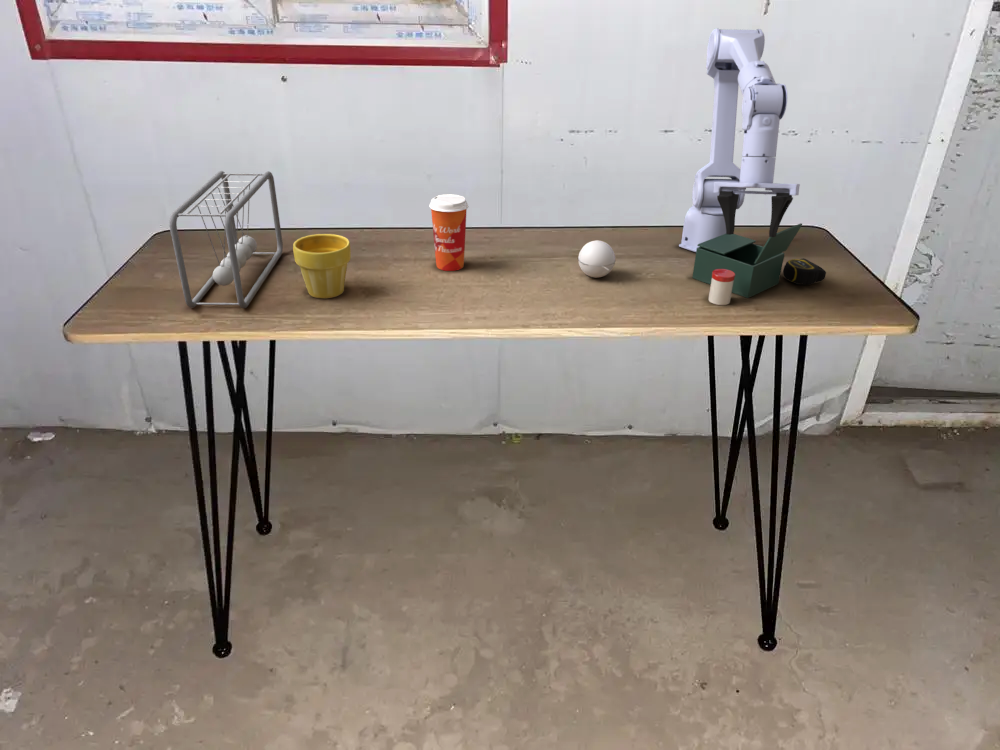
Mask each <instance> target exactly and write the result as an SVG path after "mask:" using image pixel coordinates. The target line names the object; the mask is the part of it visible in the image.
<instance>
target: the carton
mask: <svg viewBox="0 0 1000 750" xmlns="http://www.w3.org/2000/svg"><path fill="white" fill-rule="evenodd" d="M756 242H757V240H755V239H752V238H749V237H746V236H743V235H739V234H736V233H734V234H731V235H728V234H724V235H721V236H718V237H716V238H713V239H710V240H708V241H705V242H702V243H700V244H698V246H700V247H698V248H697V250H696V252H695V258H694V264H693V269H692V277H691V278H692V279H694V280H696V281H699V282H702V283H705V284H708V285H710V286H711V279H712V272H713V271H714V270H716V269H727V270H730V271H733V272H734V273H735V279H734V283H733V289H732V294H735V295H738V296H740V297H744V298H747V299H749V298H752V297H754V296H756V295H758V294H759V293H761V292H764V291H767V290H768V289H770V288H773V287H775V286H776V285H779V282H780V278H781V273H782V270H783V264H784V259H785V252H782V253H779V254H777V255H775V256H772V257H770V258H768V259H766V260H763V261H761V262H759V263H756V264H755V263H754V262H755V260H756V259H757V257H758V255H759V254H760V252H761V250H762V249H763V247H764V245H759V244H756Z"/></svg>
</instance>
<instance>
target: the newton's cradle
mask: <svg viewBox="0 0 1000 750" xmlns="http://www.w3.org/2000/svg"><path fill="white" fill-rule="evenodd" d="M231 176H253V178H251V180H250V181H248V182H247V181H246V180H245V181H238V180H237V181H235V180H234V181H233V180H232V181H231V180H230V181H229V179H228V178H229V177H231ZM260 176H261V177H260ZM258 177H259V179H258V180H257V181H256V182H255V183H254V184H253V182H254V181H255V180H256V179H257V178H258ZM218 181H219V182H218ZM217 182H218V183H217ZM266 182H268V188H269V196H270V203H271V210H272V218H273V224H274V232H275V238H276V247H277V248H276V252H270V251H269V252H267V251H266V252H264V251H261V252H260V251H259V252H258V251H256V250H257V247H258V243H257V241H256V239H255V238H254V237H252V236H250V235H249V226H247V230H246V234H245V233H244V220H242V222H241V223H242V226H241V223H240V219H239V212H240V210H241V209H242V218H244V216H245V215H244V213H245V205H246V204H247V205H248V207H247V223H249V219H250V199H252V197H253V196H254V195H256V193H257V192H258V191H259V190H260V188H261V187H263V185H264V184H265V183H266ZM216 183H217V184H216ZM229 183H247V184H246V185H245V186H235V187H234V186H230V185H229ZM215 184H216V185H215ZM251 184H253V185H252V186H251ZM275 184H276V183H275V178H274V175H273V172H271V171H266V172H264V173H258V172H257V173H255V172H254V173H252V172H248V173H247V172H245V173H243V172H225V171H223V170H219V171H218V172H217V173H216V174H214V175H213V176H212V177H211V178H210V179H208V180H207V182H205V183H204V184H203V185H202V186H200V188H199V189H197V190H196V191H195V192H194V193H193V194H192V195H191V196H189V197H188V198H187V199H186V200H185V201H183V202H182V204H180V205H179V206H178V207H176V209H174V210H173V211H172V213H171V214H170V215H169V220H168V221H169V222H168V223H169V224H168V226H169V232H170V236H171V240H172V246H173V251H174V255H175V259H176V260H175V261H176V264H177V270H178V274H179V279H180V283H181V288H182V293H183V298H184V301H185V304H186V306H187V307H188V308H191V309H193V308H196V306H238V307H240V308H242V309H246V308H248V307H249V305H250V304H251V302H252V300H253V299H254V298H255V296H256V294H257V292H259V290H260V288H261V287H262V285H263V284H264V282H265V281H266V279H267V278H268V276H269V274H270V273H271V271H272V270H273V268H274V267H275V266H276V264H277V263H278V261H279V259H280V258H281V256H282V254H283V249H284V243H283V235H282V228H281V221H280V214H279V206H278V199H277V192H276V185H275ZM214 185H215V186H214ZM221 185H222V186H221ZM213 186H214V187H213ZM221 188H222V189H223V192H221V190H220V189H221ZM230 188H232V189H237V188H238V189H241V190H240V191H239V192H237V193H236V192H231V190H230ZM217 189H218V192H214V191H215V190H217ZM247 189H248V191H246V193H244V192H245V190H247ZM209 190H210V191H209ZM206 192H207V193H206ZM205 193H206V194H205ZM204 194H205V195H204ZM214 194H217V195H218V194H219V196H220V198H221V199H219V198H215V196H214ZM223 194H224V198H223V196H222V195H223ZM242 194H243V195H242ZM203 195H204V196H203ZM210 195H211V196H212V199H211V198H208V197H209V196H210ZM231 195H235V197H233V199H232V196H231ZM241 195H242V197H240V196H241ZM202 196H203V197H202ZM201 197H202V198H201ZM207 198H208V199H207ZM239 198H240V199H239ZM198 200H199V201H198ZM236 200H237V202H236V203H235V204H234V202H235V201H236ZM196 201H198V202H196ZM203 201H204V202H205V204H206V205H202V208H203V207H204V208H205V207H206V208H207V210H208V213H202V211H201V209H200V204H202V202H203ZM208 201H213V202H214V204H215V205H208ZM216 201H222V203H223V205H217V202H216ZM195 202H196V203H195ZM193 204H194V205H193ZM192 205H193V206H192ZM191 206H192V207H191ZM190 207H191V208H190ZM210 207H211V208H214V207H216V210H217V212H218V213H211V210H210ZM219 207H220V208H223V209H222V210H221V211H220V210H219ZM189 208H190V209H189ZM196 208H197V209H198V211H199V213H192V212H193V211H194V210H195V209H196ZM188 209H189V210H188ZM187 210H188V211H187ZM185 211H186V213H185ZM235 216H236V220H235ZM179 217H201V219H202V223H203V224H204V227H205V230H206V233H207V236H208V238H209V241H210V243H211V247H212V250H213V252H214V254H215V255H214V256H215V257H216V260H217V263H218V266H216V267H215V268H214V270H213V272H212V275H211V277H209V279H208V280H207V281H206V282H205V284H204V285H203V286H202V287H201V289H200V290H199V291H198V292H197V293H196V295H195V296H194V297H193V298H192V294H191V290H190V285H189V280H188V275H187V271H186V265H185V260H184V256H183V252H182V246H181V241H180V235H179V231H178V226H177V224H178V223H177V221H178V218H179ZM204 217H210V218H211V221H212V224H213V226H214V229H215V231H216V234H217V237H218V239H219V241H220V244H221V247H222V250H223V259H222V260H221V261H219V258H218V255H217V253H216V249H215V247H214V244H213V241H212V239H211V236H210V233H209V231H208V228H207V225H206V222H205V220H204ZM213 217H219V218H220V220H221V223H222V226H223V228H224V233H223V242H222V240H221V237H220V234H219V232H218V228H217V226H216V224H215V221H214V218H213ZM223 217H224V221H223V219H222V218H223ZM238 225H239V226H238ZM238 227H240V230H241V237H240V238H239V239H238V229H239V228H238ZM226 242H227V247H228V252H226ZM252 255H273V256H272V258H271V259H270V260H269V262H268V264H267V265H266V267H265V268H264V269H263V271H262V273H261V274H260V275H259V277H258V278H257V280H256V281H255V283H254V285H253V286H252V288H251V289H250V290H249V292H248V294H247V295H246V296H244V291H243V285H242V280H241V279H242V278H241V274H240V272H241V269H242V268H244V267H245V265H246V263H247V261H248V260H250V258H251V257H252ZM233 282H234V288H235V295H236V298H237V299H236V301H237V302H201V300H202V299H203V298H204V296H205V295H206V294H207V293H208V291H209V290H210V289H211V288H212V286H213V285H214V284H215V283H216V284H217V285H219V286H222V287H224V286H228V285H231V284H232V283H233Z"/></svg>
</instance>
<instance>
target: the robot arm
mask: <svg viewBox="0 0 1000 750" xmlns="http://www.w3.org/2000/svg"><path fill="white" fill-rule="evenodd" d="M765 39H766V38H765V33H764V31H763V29H761V28H757V29H735V28H734V29H732V28H730V29H725V28H723V29H722V28H719V27H716V28H714V29H713V30H712V31H711V32H710V34H709V38H708V41H707V42H708V43H707V49H706V63H705V68H706V75H708V76H709V77H710V78H712V79H713V88H714V89H713V90H714V91H713V93H714V94H713V105H712V106H713V107H712V121H711V135H710V136H711V137H710V148H709V149H710V152H709V162H708V163H706V164H705V165H704V166H702V167H700V168H699V169H698V170H697V171H696V173H695V175H694V183H693V185H692V194H691V195H692V196H691V200H692V205H691V206H690V207H689V208H688V210H687V212H686V213H685V216H684V220H683V227H682V233H681V234H682V235H681V241H680V243H679V244H678V247H679V248H682V249H685V250H688V251H691V252H694V253H696V250H697V248H698V247H700V246H698V244H700V243H702V242H705V241H708V240H710V239H713V238H716V237H718V236H721V235H724V234H728V235H731V234H735V228H736V227H735V226H736V225H735V224H736V213H737V210H739V209H740V208H741V207H742V206H743V204H744V201H745V198H746V197H745V196H746V194H747V195H771V213H770V214H771V215H770V216H771V217H770V222H769V223H770V224H769V229H768V238H769V237H776V234H777V233H778V232H779V231H778V230H779V227H780V224H781V222H782V220H783V218H784V216H785V214H786V213H787V210H788V208H789V207H790V205H791V203H793V200H794V197H793V196H799V193H800V186H801V184H800V183H777V182H776V183H775V182H774V179H775V178H774V177H775V169H776V160H777V150H778V149H777V148H778V140H779V139H778V138H779V130H780V121H781V120H782V119H783V117H784V116H785V113H786V110H787V106H788V89H787V86H786V84H785V83H776V80H775V77H774V76H773V73H772V70H771V68H770V66H769V65H768V64H767V62H765V61H764V60H761V59H762V57H763V55H764V51H765V50H764V49H765V43H766V42H765V41H766V40H765ZM739 89H740V92H741V95H742V102H741V117H742V120H741V121H742V122H741V127H742V128H741V129H742V130H743V139H742V151H741V161H740V167H739V166H737V164H735V163H734V151H735V139H736V125H737V113H738V111H737V110H738V98H739ZM708 177H709V178H708ZM747 189H764V190H763V191H761V190H747Z"/></svg>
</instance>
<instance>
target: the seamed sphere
mask: <svg viewBox="0 0 1000 750" xmlns="http://www.w3.org/2000/svg"><path fill="white" fill-rule="evenodd" d="M577 262H578V266H579V268H580V271H582V272H583V273H584V274H585V275H586V276H588V277H590V278H594V279H597V278H602V277H605V276H607V275H608V274H610V273H611V271H612V270H613V268H614V267H615V263H616V253H615V252H614V249H613V247H612V246H611V245H610V244H608V243H607V242H605V241H603V240H598V239H596V240H592V241H588V242H587V243H586V244H584V245H583V246H582V248H581V249H580V251H579V252H578V256H577Z"/></svg>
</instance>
